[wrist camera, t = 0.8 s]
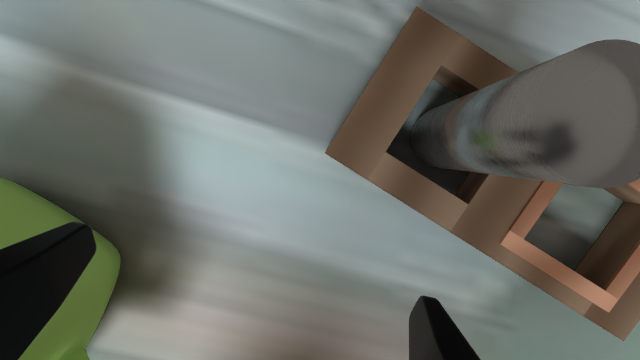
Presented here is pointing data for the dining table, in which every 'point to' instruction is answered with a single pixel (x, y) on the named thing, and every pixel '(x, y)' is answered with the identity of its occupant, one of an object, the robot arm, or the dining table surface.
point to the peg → (546, 121)
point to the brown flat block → (486, 180)
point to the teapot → (87, 294)
